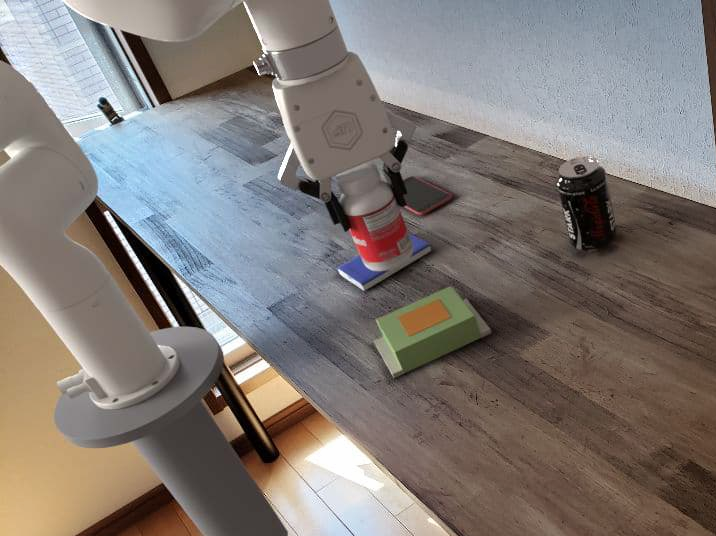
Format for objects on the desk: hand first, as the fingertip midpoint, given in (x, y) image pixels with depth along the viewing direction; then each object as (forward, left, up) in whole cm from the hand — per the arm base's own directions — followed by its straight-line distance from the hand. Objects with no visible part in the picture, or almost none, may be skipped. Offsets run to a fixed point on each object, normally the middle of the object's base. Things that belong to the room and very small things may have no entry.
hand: (372, 213), depth 94 cm
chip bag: (+2, +4, -22) cm, 22 cm away
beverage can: (+29, +9, -22) cm, 38 cm away
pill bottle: (0, 0, -6) cm, 6 cm away
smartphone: (+13, +45, -22) cm, 52 cm away
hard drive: (+2, +29, -22) cm, 36 cm away
